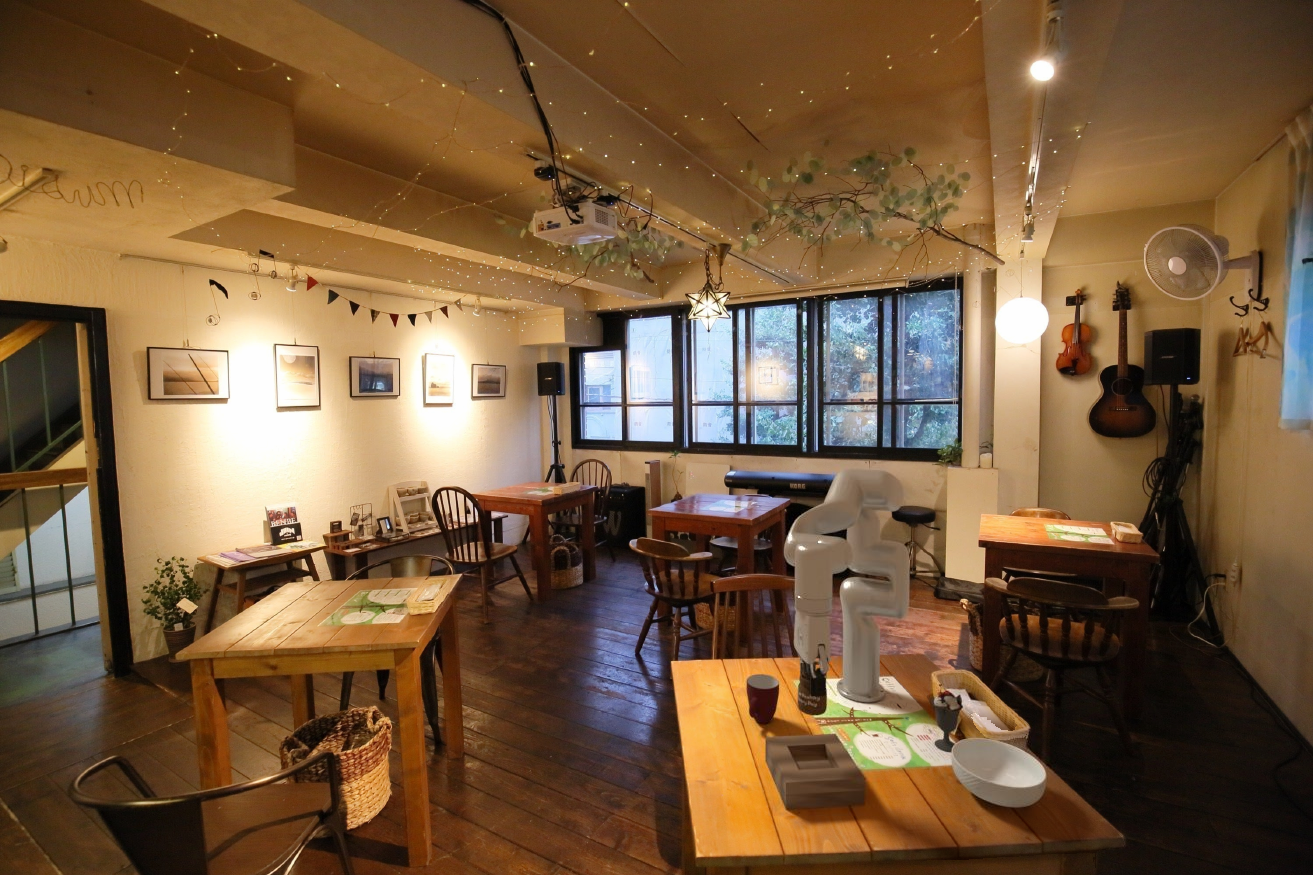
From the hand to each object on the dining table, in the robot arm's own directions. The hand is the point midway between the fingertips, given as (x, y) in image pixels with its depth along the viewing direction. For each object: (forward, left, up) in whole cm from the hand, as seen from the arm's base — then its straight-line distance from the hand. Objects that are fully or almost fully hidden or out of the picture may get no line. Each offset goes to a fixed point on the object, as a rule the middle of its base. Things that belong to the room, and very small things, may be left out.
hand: (812, 687), depth 126 cm
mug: (-24, -5, -21) cm, 32 cm away
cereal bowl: (+7, +36, -21) cm, 42 cm away
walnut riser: (0, 0, -21) cm, 21 cm away
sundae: (-10, +35, -21) cm, 42 cm away
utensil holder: (0, 0, -5) cm, 5 cm away
